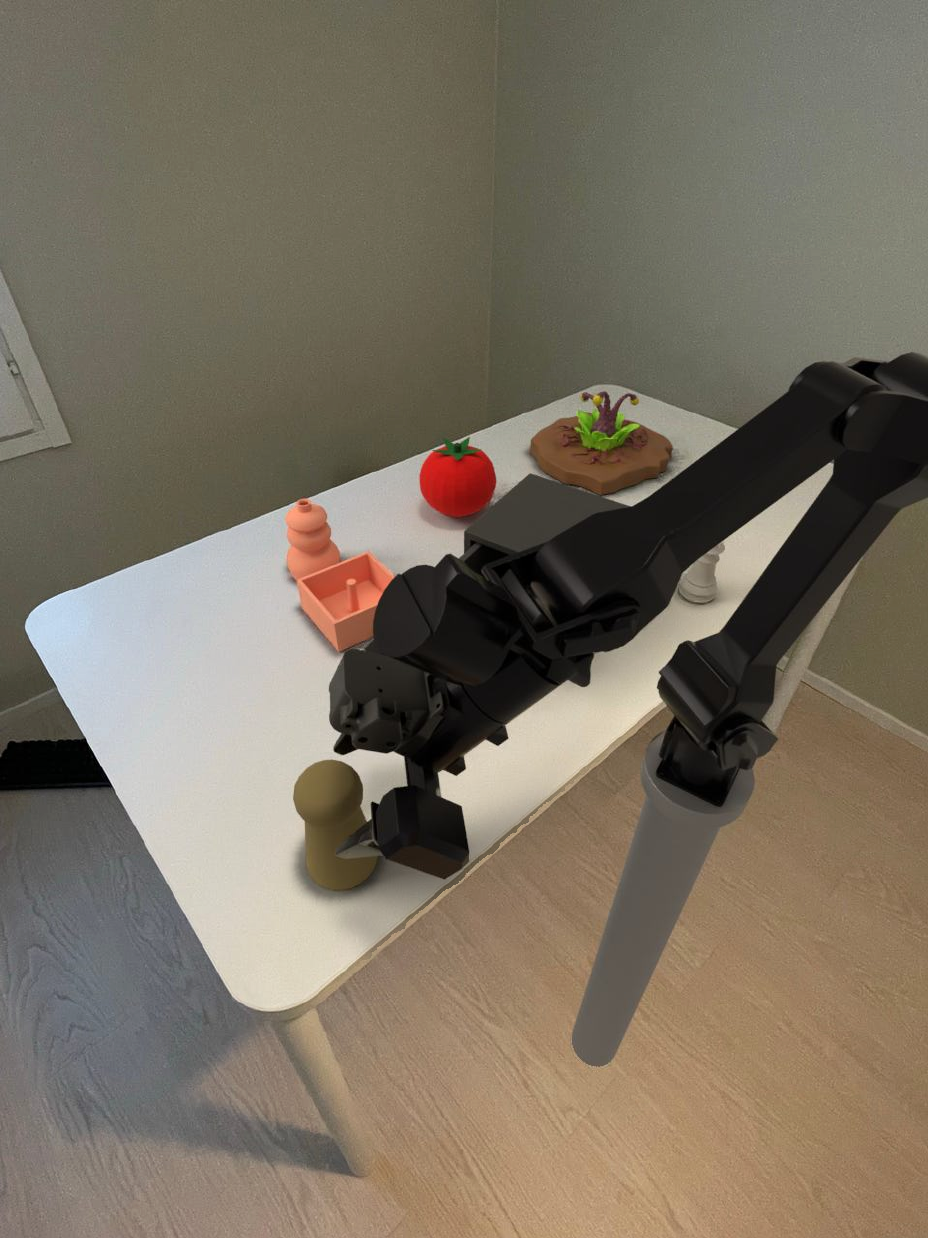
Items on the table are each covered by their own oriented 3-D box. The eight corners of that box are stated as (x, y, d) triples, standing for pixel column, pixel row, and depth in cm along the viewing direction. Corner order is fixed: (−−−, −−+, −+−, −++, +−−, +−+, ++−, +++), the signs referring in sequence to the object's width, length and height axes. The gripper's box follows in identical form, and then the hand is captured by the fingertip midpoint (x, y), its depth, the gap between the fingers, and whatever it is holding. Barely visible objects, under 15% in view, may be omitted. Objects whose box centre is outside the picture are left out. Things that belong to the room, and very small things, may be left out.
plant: (507, 454, 109) (510, 385, 102) (588, 416, 119) (596, 350, 112) (608, 507, 99) (621, 434, 91) (688, 460, 109) (705, 390, 101)
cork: (291, 874, 58) (267, 799, 51) (328, 815, 62) (311, 737, 55) (356, 901, 56) (341, 827, 49) (390, 838, 61) (380, 761, 53)
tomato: (504, 525, 95) (507, 459, 89) (429, 536, 94) (426, 469, 87) (484, 485, 103) (485, 421, 96) (413, 494, 101) (410, 430, 94)
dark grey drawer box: (566, 642, 79) (576, 574, 72) (463, 598, 84) (463, 530, 78) (621, 573, 88) (634, 507, 81) (524, 537, 93) (529, 472, 87)
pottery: (411, 618, 81) (407, 550, 75) (338, 652, 77) (327, 582, 71) (337, 543, 92) (327, 477, 86) (270, 569, 88) (254, 502, 82)
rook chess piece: (691, 576, 87) (706, 522, 82) (722, 593, 85) (740, 539, 80) (670, 592, 85) (684, 538, 80) (701, 610, 83) (718, 555, 77)
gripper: (385, 545, 50) (256, 668, 56) (410, 757, 36) (236, 890, 43) (490, 617, 56) (364, 721, 62) (545, 821, 43) (376, 929, 49)
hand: (338, 800), depth 54 cm, fingers open, 9 cm apart
